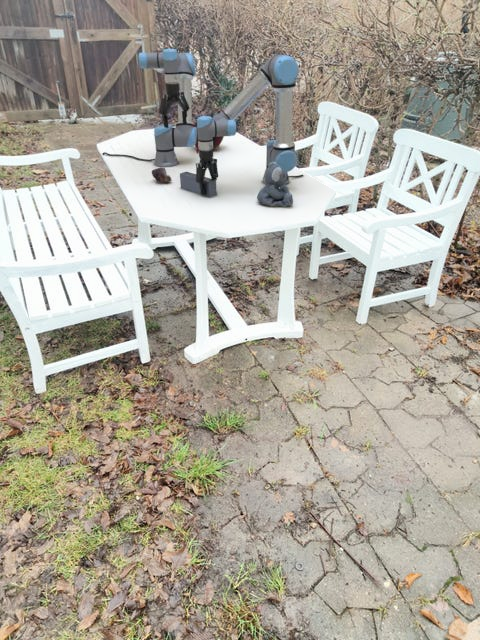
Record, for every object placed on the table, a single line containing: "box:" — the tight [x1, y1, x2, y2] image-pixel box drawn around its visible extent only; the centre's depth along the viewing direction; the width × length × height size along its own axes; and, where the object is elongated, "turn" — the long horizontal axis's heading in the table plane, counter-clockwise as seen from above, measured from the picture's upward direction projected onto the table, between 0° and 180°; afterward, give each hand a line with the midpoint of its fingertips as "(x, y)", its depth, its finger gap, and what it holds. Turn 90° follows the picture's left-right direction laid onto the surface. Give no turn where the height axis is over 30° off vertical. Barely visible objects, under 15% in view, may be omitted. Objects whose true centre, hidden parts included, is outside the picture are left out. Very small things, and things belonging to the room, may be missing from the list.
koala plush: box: [256, 162, 294, 208], centre depth 228 cm, size 17×18×20 cm
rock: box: [151, 166, 172, 183], centre depth 260 cm, size 12×9×10 cm
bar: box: [179, 171, 218, 198], centre depth 246 cm, size 24×5×8 cm, turn 47°
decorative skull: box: [193, 118, 225, 154], centre depth 320 cm, size 21×24×25 cm
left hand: (175, 125), depth 251 cm, fingers open, 13 cm apart
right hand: (208, 193), depth 244 cm, fingers open, 7 cm apart
